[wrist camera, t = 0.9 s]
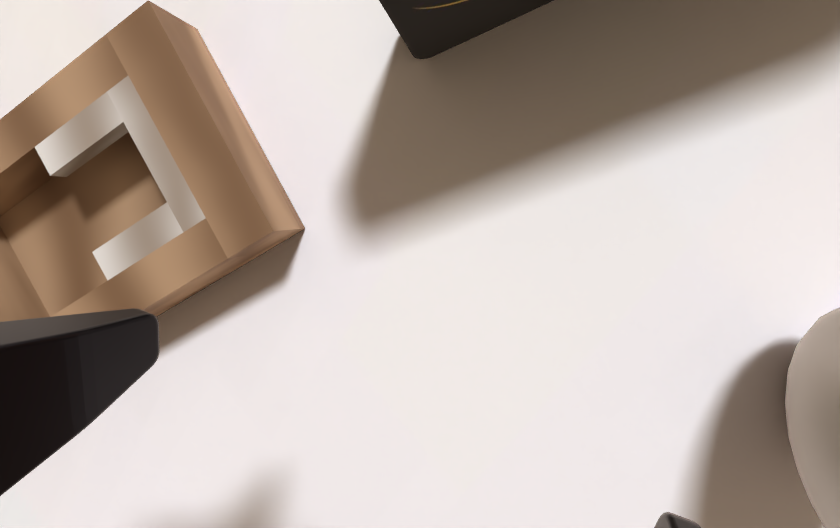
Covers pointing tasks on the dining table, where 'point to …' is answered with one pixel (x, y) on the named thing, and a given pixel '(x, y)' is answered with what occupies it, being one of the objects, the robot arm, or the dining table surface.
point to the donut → (817, 415)
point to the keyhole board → (132, 179)
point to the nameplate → (450, 20)
